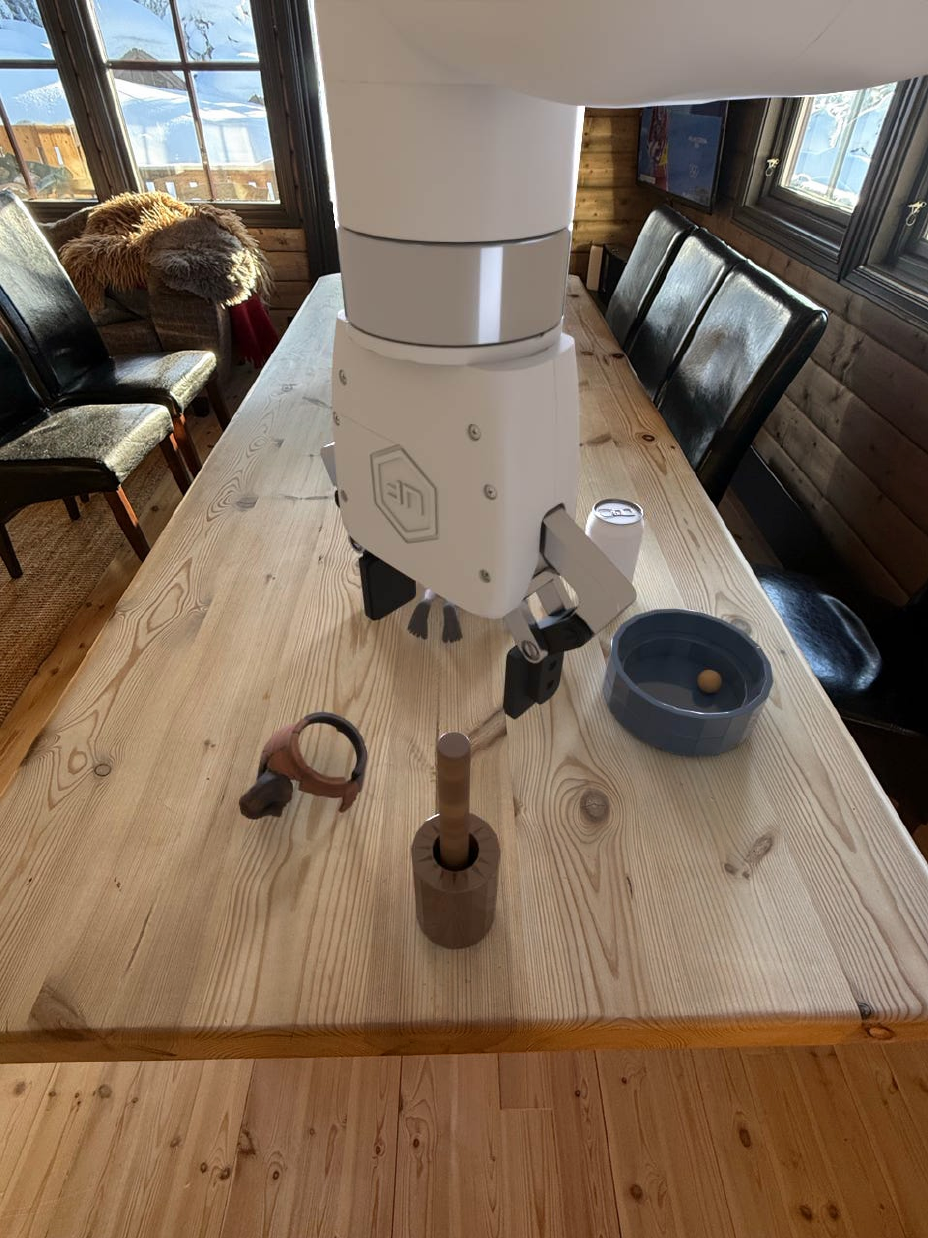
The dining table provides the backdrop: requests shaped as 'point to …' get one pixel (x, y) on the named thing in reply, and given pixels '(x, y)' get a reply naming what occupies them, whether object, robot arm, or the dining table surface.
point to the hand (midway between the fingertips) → (455, 650)
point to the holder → (456, 886)
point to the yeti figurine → (421, 614)
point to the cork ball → (709, 681)
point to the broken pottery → (301, 770)
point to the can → (617, 532)
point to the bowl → (685, 681)
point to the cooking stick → (454, 799)
